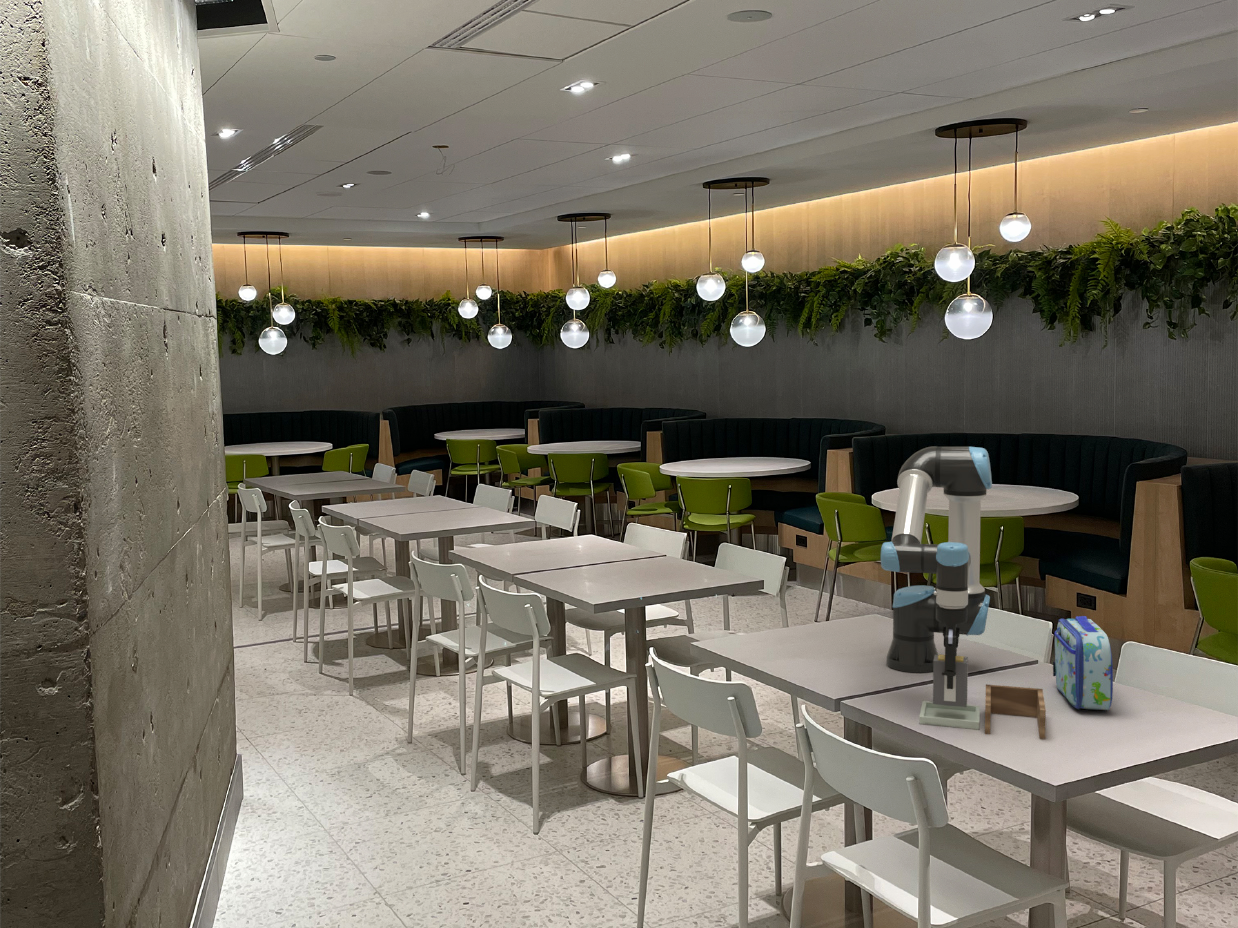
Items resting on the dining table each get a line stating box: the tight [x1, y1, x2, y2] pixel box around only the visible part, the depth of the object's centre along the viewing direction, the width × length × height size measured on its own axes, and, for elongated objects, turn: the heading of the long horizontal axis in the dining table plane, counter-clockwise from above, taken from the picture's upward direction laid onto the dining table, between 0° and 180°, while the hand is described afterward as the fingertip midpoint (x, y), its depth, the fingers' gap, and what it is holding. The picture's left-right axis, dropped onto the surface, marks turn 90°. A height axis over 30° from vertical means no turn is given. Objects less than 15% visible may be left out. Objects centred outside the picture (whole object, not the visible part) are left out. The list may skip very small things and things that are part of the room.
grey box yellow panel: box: [932, 653, 969, 707], centre depth 265 cm, size 6×8×11 cm
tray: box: [918, 700, 981, 730], centre depth 266 cm, size 13×14×2 cm
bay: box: [984, 684, 1047, 740], centre depth 260 cm, size 17×13×7 cm
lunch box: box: [1052, 615, 1114, 711], centre depth 278 cm, size 26×11×21 cm, turn 168°
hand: (950, 696), depth 265 cm, fingers closed on grey box yellow panel, 6 cm apart
